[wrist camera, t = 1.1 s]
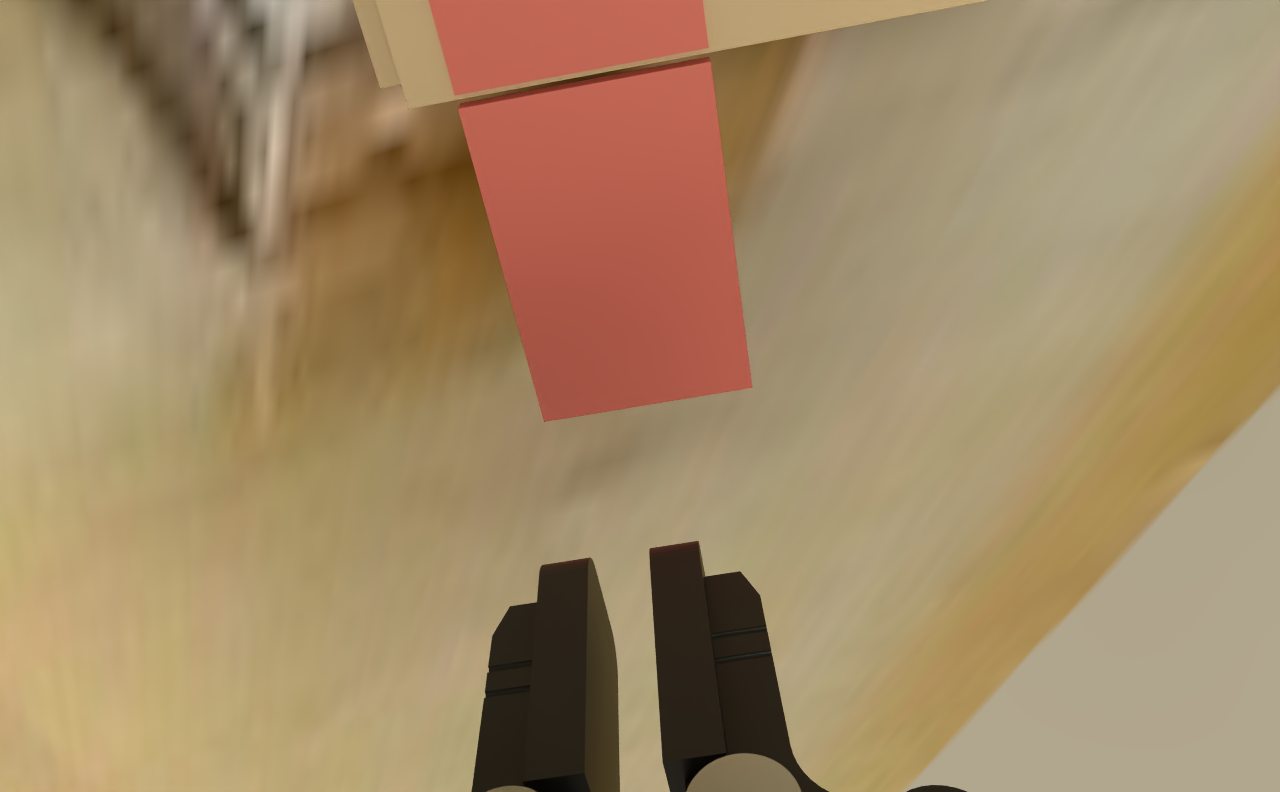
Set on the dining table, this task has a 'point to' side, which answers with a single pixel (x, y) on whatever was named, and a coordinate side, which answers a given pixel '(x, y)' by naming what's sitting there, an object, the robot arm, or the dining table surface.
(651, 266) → the flap
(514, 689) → the robot arm
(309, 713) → the dining table surface
